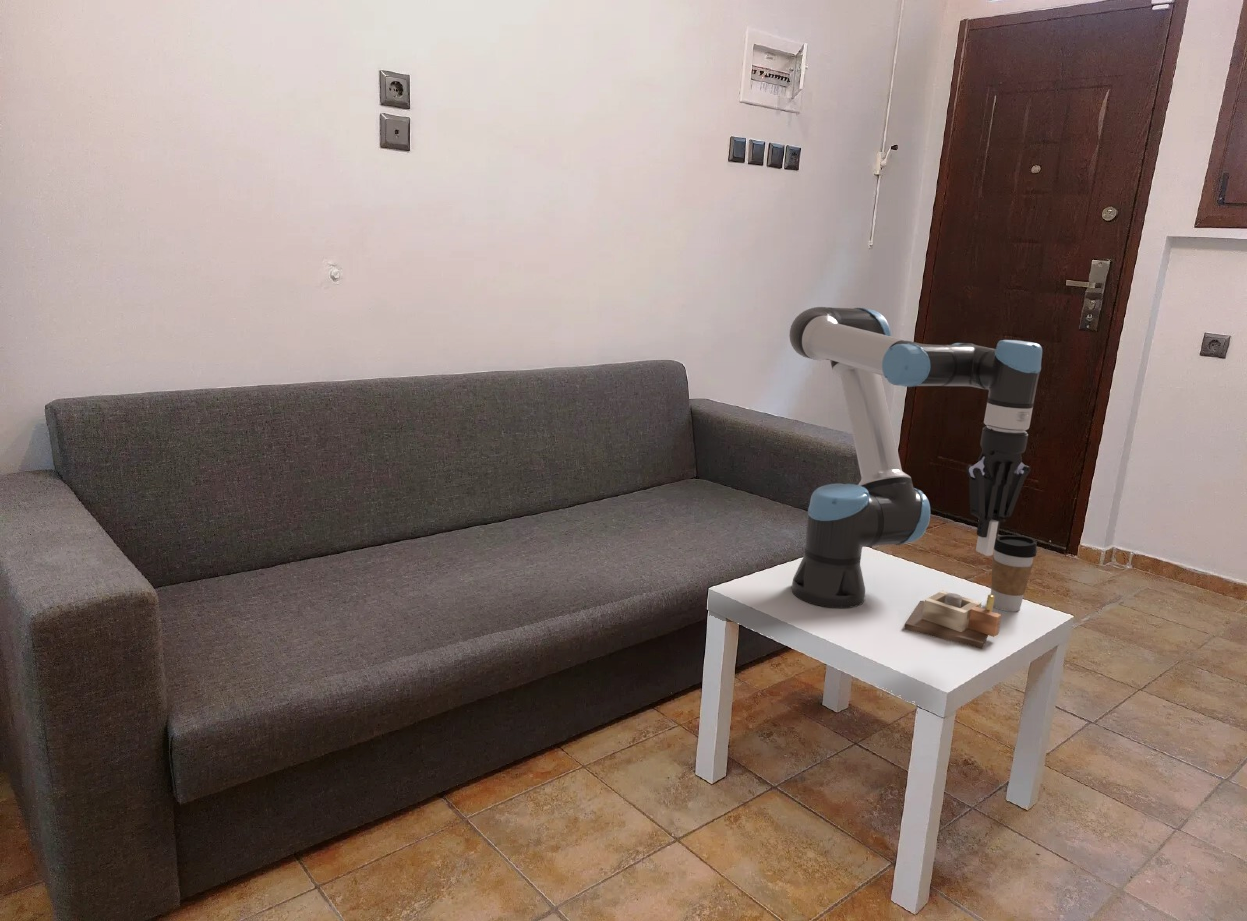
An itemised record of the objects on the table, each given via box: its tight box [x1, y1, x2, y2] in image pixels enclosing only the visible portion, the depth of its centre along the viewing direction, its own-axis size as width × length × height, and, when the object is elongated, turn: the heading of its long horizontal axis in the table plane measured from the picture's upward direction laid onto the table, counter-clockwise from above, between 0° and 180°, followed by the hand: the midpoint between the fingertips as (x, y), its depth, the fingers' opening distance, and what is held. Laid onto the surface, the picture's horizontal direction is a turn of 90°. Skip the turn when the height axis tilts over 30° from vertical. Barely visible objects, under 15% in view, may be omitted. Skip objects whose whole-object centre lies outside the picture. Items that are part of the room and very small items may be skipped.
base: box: [903, 592, 989, 650], centre depth 170 cm, size 14×14×6 cm
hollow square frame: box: [922, 590, 1002, 638], centre depth 168 cm, size 13×8×4 cm, turn 46°
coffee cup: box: [990, 534, 1038, 612], centre depth 181 cm, size 8×8×15 cm
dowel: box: [985, 594, 995, 612], centre depth 167 cm, size 1×1×7 cm
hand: (984, 552), depth 160 cm, fingers closed
